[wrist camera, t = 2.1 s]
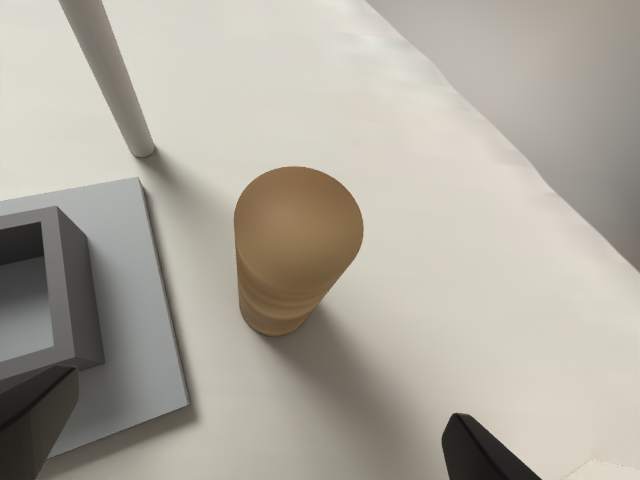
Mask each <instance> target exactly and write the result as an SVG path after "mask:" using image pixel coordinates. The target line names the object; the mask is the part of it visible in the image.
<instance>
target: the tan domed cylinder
mask: <svg viewBox="0 0 640 480" xmlns="http://www.w3.org/2000/svg"><path fill="white" fill-rule="evenodd" d="M363 229H364V228H363V219H362V215H361V212H360V209H359V207H358V205H357V203H356V201H355V199H354V198H353V196H352V195H351V193H350V192H349V191H348V190H347V189H346V188H345V187H344V186H343V185H342V184H341V183H340V182H338V181H337V180H335V179H334V178H332V177H331V176H329V175H327V174H325V173H323V172H320V171H318V170H314V169H311V168H306V167H283V168H278V169H274V170H271V171H269V172H266V173H264V174H262V175H260V176H259V177H257V178H256V179H255V180H253V181H252V182H251V183H250V184H249V185H248V186H247V187H246V188H245V190H244V191H243V192H242V194H241V196H240V198H239V200H238V202H237V205H236V209H235V213H234V230H235V245H236V261H237V276H238V292H239V307H240V311H241V314H242V316H243V318H244V320H245V321H246V323H247V324H248V325H249V326H250V327H251V328H252V329H253V330H255V331H257V332H258V333H261V334H263V335H267V336H282V335H286V334H289V333H291V332H293V331H294V330H296V329H297V328H298V327H299V326H300V325H301V324H302V323H303V322H304V321H305V319H306V318H307V317H308V316H309V315H310V313H311V312H312V311H313V310H314V308H315V307H316V306H317V305H318V303H319V302H320V301H321V300H322V298H323V297H324V296H325V295H326V294H327V292H328V291H329V290H330V289H331V287H332V286H333V285H334V284H335V282H336V281H337V280H338V279H339V277H340V276H341V275H342V274H343V273H344V271H345V270H346V269H347V268H348V266H349V265H350V264H351V263H352V261H353V260H354V259H355V257H356V255H357V253H358V252H359V249H360V247H361V244H362V239H363Z"/></svg>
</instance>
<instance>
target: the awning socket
mask: <svg viewBox="0 0 640 480" xmlns="http://www.w3.org/2000/svg"><path fill="white" fill-rule="evenodd" d="M59 2H60V4H61V7H62V9H63V11H64V13H65V15H66V17H67V19H68V21H69V23H70V25H71V28H72V30H73V32H74V34H75V36H76V38H77V40H78V42H79V44H80V47H81V49H82V51H83V53H84V55H85V57H86V59H87V61H88V63H89V66H90V68H91V70H92V72H93V74H94V76H95V78H96V80H97V82H98V85H99V87H100V89H101V91H102V93H103V95H104V97H105V99H106V101H107V104H108V106H109V108H110V110H111V112H112V114H113V116H114V118H115V120H116V123H117V125H118V127H119V129H120V131H121V133H122V135H123V137H124V139H125V141H126V144H127V146H128V148H129V150H130V152H131V153H132V154H133V155H134V156H137V157H147V156H149V155H151V154H152V153H153V152H154V149H155V146H154V143H153V140H152V138H151V135H150V132H149V129H148V127H147V124H146V121H145V118H144V116H143V113H142V110H141V108H140V105H139V102H138V99H137V97H136V94H135V91H134V88H133V86H132V83H131V80H130V77H129V75H128V72H127V69H126V66H125V64H124V61H123V58H122V56H121V53H120V50H119V47H118V45H117V42H116V39H115V36H114V34H113V31H112V28H111V25H110V23H109V20H108V17H107V14H106V12H105V9H104V6H103V4H102V1H101V0H59ZM56 364H65V365H73V366H76V367H77V368H78V370H79V399H78V402H77V404H76V406H75V408H74V410H73V412H72V414H71V416H70V417H69V419H68V421H67V423H66V425H65V427H64V428H63V430H62V432H61V434H60V436H59V437H58V439H57V441H56V443H55V445H54V447H53V448H52V450H51V452H50V454H49V456H48V458H47V459H49V458H52V457H54V456H57V455H59V454H62V453H65V452H67V451H70V450H73V449H75V448H78V447H80V446H83V445H86V444H88V443H91V442H94V441H96V440H99V439H101V438H104V437H107V436H109V435H112V434H115V433H117V432H120V431H122V430H125V429H128V428H130V427H133V426H135V425H138V424H141V423H143V422H146V421H149V420H151V419H154V418H156V417H159V416H162V415H164V414H167V413H170V412H172V411H175V410H177V409H180V408H183V407H185V406H188V405H190V401H189V396H188V392H187V387H186V383H185V378H184V374H183V369H182V364H181V360H180V355H179V351H178V346H177V342H176V337H175V332H174V328H173V323H172V319H171V314H170V310H169V305H168V301H167V296H166V291H165V287H164V282H163V278H162V273H161V269H160V264H159V259H158V255H157V250H156V246H155V241H154V237H153V232H152V227H151V223H150V218H149V214H148V209H147V205H146V200H145V195H144V191H143V186H142V184H141V182H140V180H139V178H138V177H134V178H129V179H123V180H117V181H112V182H106V183H100V184H95V185H89V186H83V187H78V188H72V189H67V190H61V191H55V192H50V193H44V194H38V195H33V196H27V197H21V198H16V199H10V200H5V201H0V393H1V392H3V391H5V390H7V389H9V388H11V387H12V386H14V385H16V384H18V383H20V382H22V381H24V380H26V379H28V378H30V377H32V376H34V375H36V374H38V373H40V372H42V371H43V370H45V369H47V368H49V367H51V366H53V365H56Z"/></svg>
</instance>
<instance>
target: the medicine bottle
mask: <svg viewBox="0 0 640 480" xmlns="http://www.w3.org/2000/svg"><path fill="white" fill-rule="evenodd" d="M563 480H640V469H637V468H632V467H627V466H622V465H616V464H611V463H606V462H601V461H595V460H591V461H588V462H586V463H585V464H584V465H582V466H581V467H580V468H578V469H577V470H576V471H574V472H573V473H571V474H570V475H569V476H567V477H566V478H565V479H563Z"/></svg>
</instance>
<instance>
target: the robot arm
mask: <svg viewBox="0 0 640 480" xmlns="http://www.w3.org/2000/svg"><path fill="white" fill-rule="evenodd" d="M78 399H79V370H78V368H77V367H76V366H73V365H65V364H56V365H53V366H51V367H49V368H47V369H45V370H43V371H42V372H40V373H38V374H36V375H34V376H32V377H30V378H28V379H26V380H24V381H22V382H20V383H18V384H16V385H14V386H12V387H11V388H9V389H7V390H5V391H3V392H1V393H0V480H35V479H36V477H37V475H38V474H39V472H40V470H41V468H42V467H43V465H44V463H45V461H46V459H47V458H48V456H49V454H50V452H51V450H52V448H53V447H54V445H55V443H56V441H57V439H58V437H59V436H60V434H61V432H62V430H63V428H64V427H65V425H66V423H67V421H68V419H69V417H70V416H71V414H72V412H73V410H74V408H75V406H76V404H77V402H78ZM442 448H443V453H444V457H445V462H446V466H447V470H448V475H449V479H450V480H542V479H541V478H540V477H539V476H537V475H536V474H535V473H534V472H533V471H532V470H531V469H530V468H529V467H527V466H526V465H525V464H524V463H523V462H522V461H521V460H520V459H519V458H517V457H516V456H515V455H514V454H513V453H512V452H511V451H510V450H509V449H507V448H506V447H505V446H504V445H503V444H502V443H501V442H500V441H499V440H498V439H496V438H495V437H494V436H493V435H492V434H491V433H490V432H489V431H488V430H486V429H485V428H484V427H483V426H482V425H481V424H480V423H479V422H478V421H476V420H475V419H474V418H473V417H472V416H471V415H468V414H462V413H454V414H452V415H451V417H450V419H449V422H448V424H447V426H446V428H445V430H444V432H443V435H442Z"/></svg>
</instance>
